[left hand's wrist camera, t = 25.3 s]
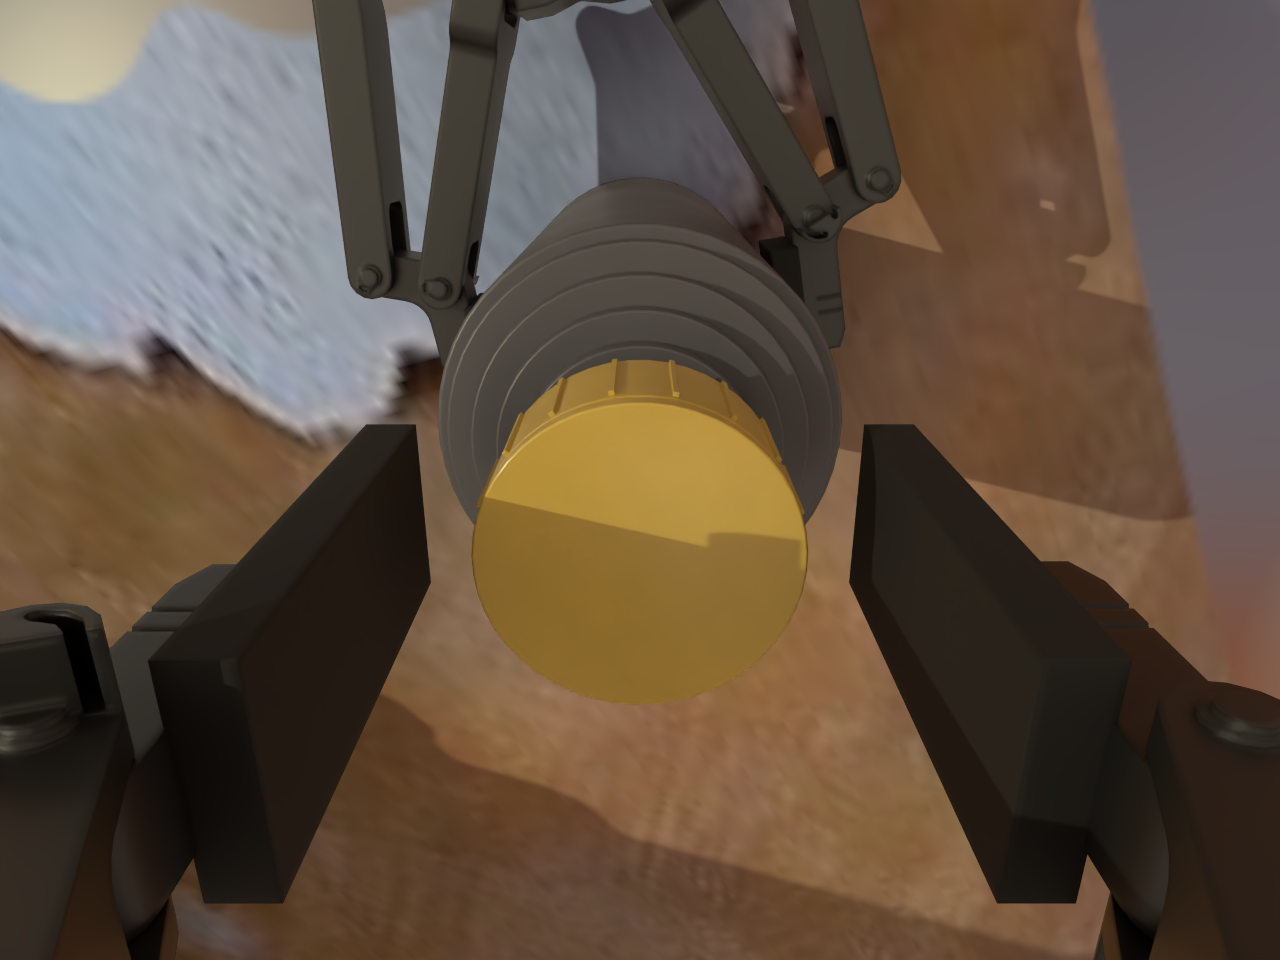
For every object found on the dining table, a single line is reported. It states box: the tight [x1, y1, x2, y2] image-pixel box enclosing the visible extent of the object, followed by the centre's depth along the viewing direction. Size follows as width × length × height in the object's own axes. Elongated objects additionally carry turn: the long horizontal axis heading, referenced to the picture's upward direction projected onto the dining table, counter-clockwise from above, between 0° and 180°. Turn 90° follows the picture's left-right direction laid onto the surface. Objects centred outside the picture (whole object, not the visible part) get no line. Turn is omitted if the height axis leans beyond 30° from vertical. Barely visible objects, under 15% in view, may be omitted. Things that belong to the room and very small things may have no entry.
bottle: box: [438, 178, 842, 525], centre depth 23 cm, size 8×8×21 cm
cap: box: [472, 359, 808, 705], centre depth 13 cm, size 5×5×2 cm
